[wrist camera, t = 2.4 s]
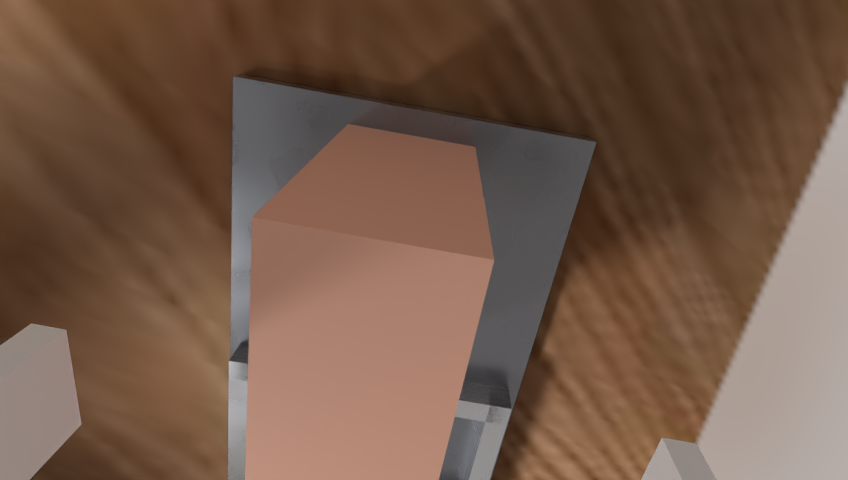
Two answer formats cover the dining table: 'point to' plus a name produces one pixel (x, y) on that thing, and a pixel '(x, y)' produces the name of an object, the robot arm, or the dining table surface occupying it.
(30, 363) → the robot arm
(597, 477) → the dining table surface
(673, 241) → the dining table surface
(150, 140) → the dining table surface
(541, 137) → the pocket plate
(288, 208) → the terracotta block
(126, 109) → the dining table surface
